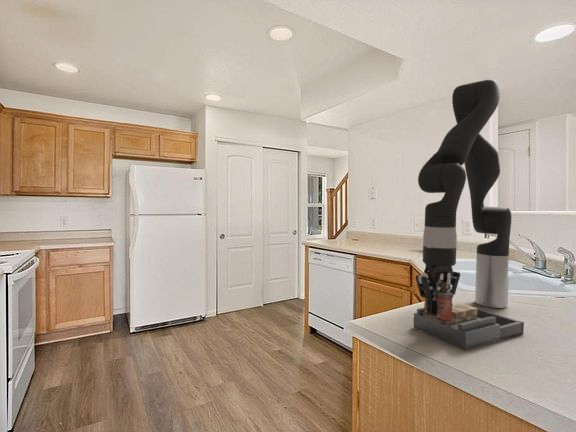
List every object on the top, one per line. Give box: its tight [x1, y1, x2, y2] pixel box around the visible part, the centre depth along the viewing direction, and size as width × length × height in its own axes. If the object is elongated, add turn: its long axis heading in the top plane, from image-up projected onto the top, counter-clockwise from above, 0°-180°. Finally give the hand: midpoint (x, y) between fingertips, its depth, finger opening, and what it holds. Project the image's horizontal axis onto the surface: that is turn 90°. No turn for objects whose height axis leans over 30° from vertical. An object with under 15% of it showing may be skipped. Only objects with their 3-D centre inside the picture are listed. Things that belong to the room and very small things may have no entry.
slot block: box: [413, 303, 500, 351], centre depth 84 cm, size 13×15×6 cm
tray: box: [476, 307, 525, 341], centre depth 89 cm, size 10×15×3 cm
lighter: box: [423, 282, 454, 326], centre depth 81 cm, size 8×3×10 cm, turn 21°
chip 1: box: [452, 305, 466, 323], centre depth 83 cm, size 4×4×2 cm
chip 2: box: [453, 303, 477, 320], centre depth 85 cm, size 4×4×2 cm
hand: (437, 313), depth 81 cm, fingers closed on lighter, 3 cm apart
